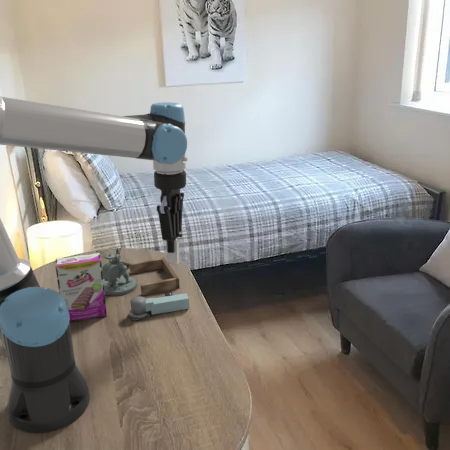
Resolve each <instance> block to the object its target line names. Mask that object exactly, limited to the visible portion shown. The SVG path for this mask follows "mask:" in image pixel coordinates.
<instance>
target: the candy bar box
mask: <svg viewBox="0 0 450 450" xmlns="http://www.w3.org/2000/svg"><path fill="white" fill-rule="evenodd" d="M102 267H103V265H102V256H101V253H100V252H97V253H96V252H95V253H89V254H82V255H75V256H74V255H73V256H72V255H71V256H65V257H55V273H56V279H57V280H56V281H57V286H58V287H57V288H58V293H59V294H61V295H62V297H63V298H64V300H65V302H66V306H67V308H68V312H69V319H70V320H69V323H72V322H79V321H83V320H89V319H90V320H91V319H96V318H102V317H107V316H108V312H107V303H106V301H107V300H106V294H105V292H104V282H103V281H104V279H103V273H102Z"/></svg>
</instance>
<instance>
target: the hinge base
mask: <svg viewBox="0 0 450 450" xmlns="http://www.w3.org/2000/svg"><path fill="white" fill-rule="evenodd" d="M172 295H173V292H171V291H165V293H164V297H166V296H172ZM149 316H150V311H147V312H145V313H143V314H133V313H132V312H131V309H130V310H129V317H130V319H132V320H136V321H140V320H144V319H147V318H148V317H149Z"/></svg>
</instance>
